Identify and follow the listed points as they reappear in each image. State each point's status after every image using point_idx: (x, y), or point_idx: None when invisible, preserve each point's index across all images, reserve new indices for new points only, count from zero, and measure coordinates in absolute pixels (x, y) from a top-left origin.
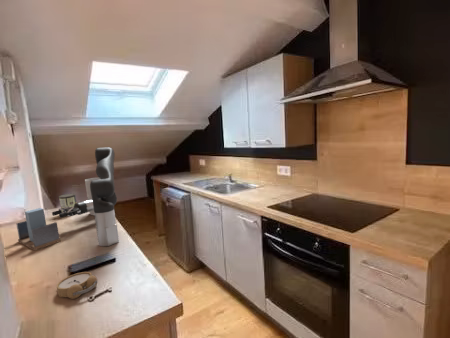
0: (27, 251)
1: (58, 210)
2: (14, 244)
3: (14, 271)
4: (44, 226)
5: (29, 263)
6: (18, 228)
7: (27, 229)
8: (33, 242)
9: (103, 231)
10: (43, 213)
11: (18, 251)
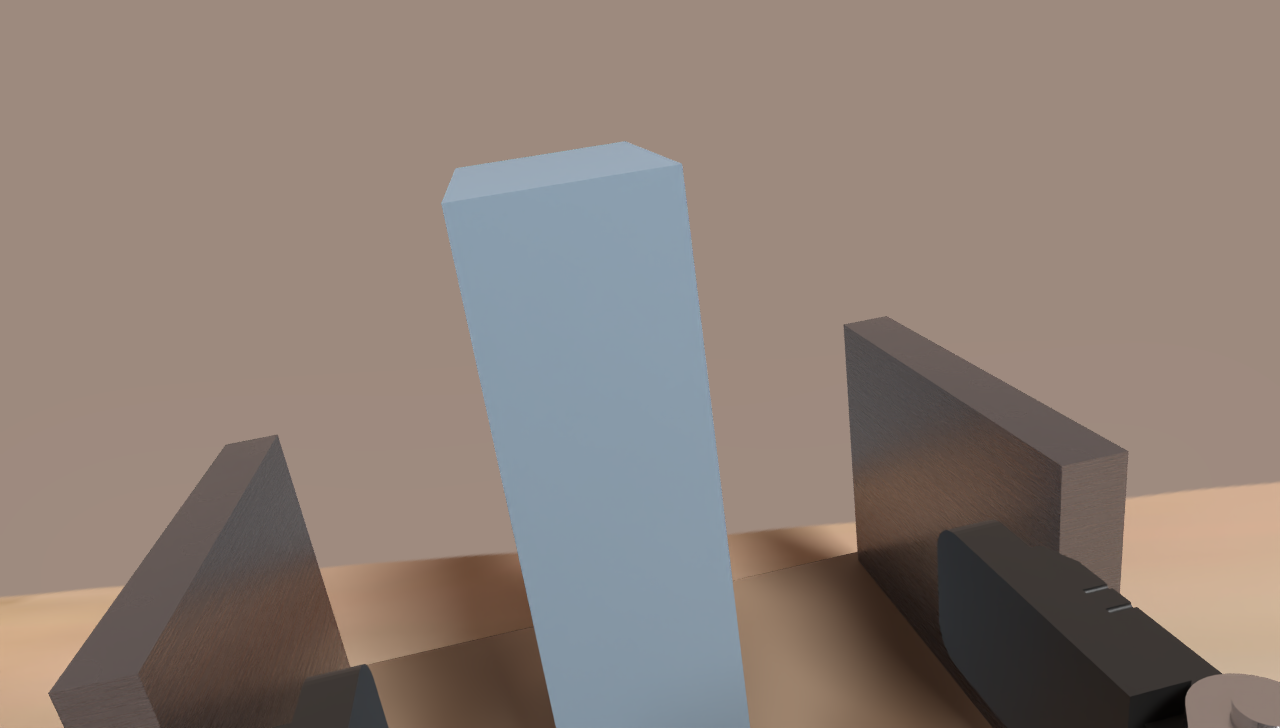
0: (391, 656)
1: (1122, 662)
2: (823, 557)
3: (29, 599)
4: (164, 533)
5: (10, 673)
6: (851, 402)
7: (905, 506)
8: (538, 670)
9: None
10: (468, 323)
11: (506, 596)
